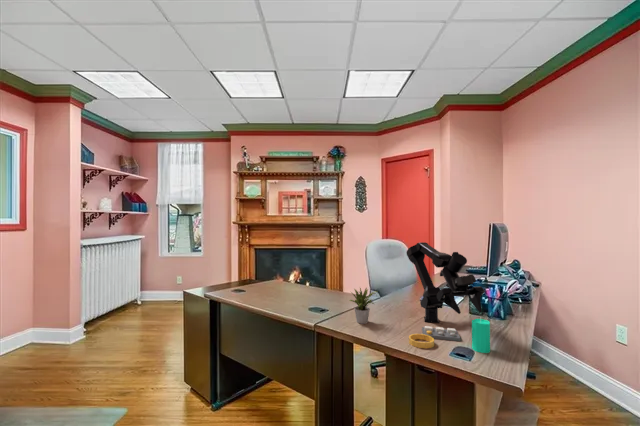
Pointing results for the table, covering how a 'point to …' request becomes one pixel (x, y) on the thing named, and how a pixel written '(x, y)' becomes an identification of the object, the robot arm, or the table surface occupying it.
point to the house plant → (362, 306)
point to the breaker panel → (441, 333)
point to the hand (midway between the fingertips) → (470, 312)
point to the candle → (481, 335)
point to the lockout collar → (421, 344)
